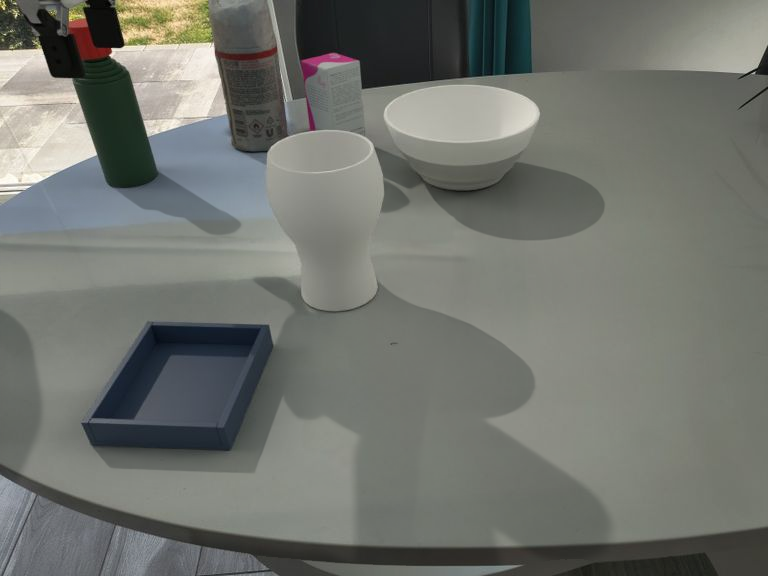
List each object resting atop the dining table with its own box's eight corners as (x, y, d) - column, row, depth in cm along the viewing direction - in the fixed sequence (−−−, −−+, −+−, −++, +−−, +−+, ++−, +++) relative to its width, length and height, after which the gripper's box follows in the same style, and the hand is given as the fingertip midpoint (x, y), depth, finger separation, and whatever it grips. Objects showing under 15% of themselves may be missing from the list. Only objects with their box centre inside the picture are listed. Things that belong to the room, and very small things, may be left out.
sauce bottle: (97, 187, 93) (44, 34, 82) (118, 165, 98) (71, 19, 87) (146, 188, 93) (100, 35, 81) (165, 166, 98) (124, 19, 86)
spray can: (301, 133, 107) (279, -17, 94) (277, 156, 100) (250, -2, 88) (248, 128, 108) (219, -21, 96) (221, 150, 102) (186, -5, 89)
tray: (90, 445, 58) (80, 422, 56) (154, 342, 68) (147, 320, 66) (230, 450, 57) (224, 427, 56) (273, 346, 68) (269, 324, 66)
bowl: (558, 159, 99) (563, 98, 94) (496, 221, 86) (498, 154, 81) (434, 133, 106) (432, 76, 101) (358, 187, 93) (352, 124, 88)
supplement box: (368, 142, 104) (360, 59, 97) (334, 155, 101) (324, 70, 93) (343, 131, 107) (334, 50, 100) (309, 143, 104) (298, 60, 97)
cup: (375, 326, 70) (360, 180, 60) (270, 314, 71) (240, 171, 62) (403, 267, 78) (393, 131, 69) (308, 258, 80) (286, 124, 70)
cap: (69, 59, 84) (59, 27, 82) (85, 48, 87) (75, 17, 85) (103, 59, 84) (93, 27, 82) (117, 49, 87) (108, 18, 85)
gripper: (36, -149, 71) (89, 36, 82) (-70, -130, 57) (10, 89, 68) (114, -147, 71) (157, 38, 81) (26, -128, 57) (91, 91, 68)
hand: (90, 61), depth 75 cm, fingers open, 9 cm apart
